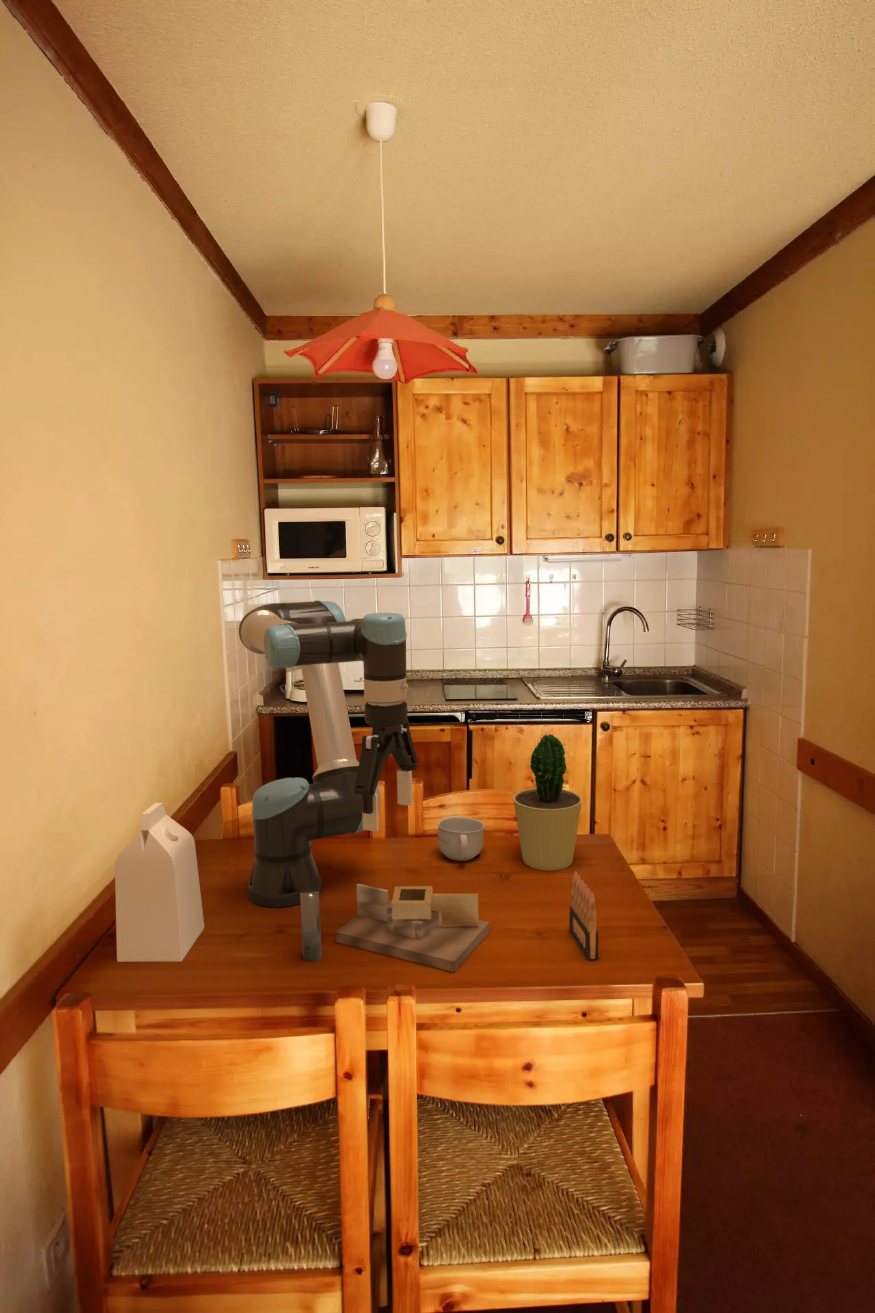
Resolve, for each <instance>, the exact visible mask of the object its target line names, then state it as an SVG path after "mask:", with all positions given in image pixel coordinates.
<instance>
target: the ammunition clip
mask: <svg viewBox="0 0 875 1313" xmlns="http://www.w3.org/2000/svg"><path fill="white" fill-rule="evenodd" d="M570 895H571V896H570V905H569V923H568V924H569V926H568V928H569V930H568V931H569V933H570V934H571V937H573V939H574V940H575V942H576V945H577V946H578V947H579V949H580V950H581V952H582V953H583V955H584V957H585V958H586V960H587V961H594V960H599V931H598V929H597V919H598V918H597V912H596V911H597V910H596V899H595V898H596V897H595V894H594V893H593V892H592V891H591V890H590V887H588V885H587V884H586V883H585V882H584V879H581V876H580V874H578V872H577V871H576V870H575V871H574V873H573V875H572V886H571V893H570Z"/></svg>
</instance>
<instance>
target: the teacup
mask: <svg viewBox="0 0 875 1313" xmlns="http://www.w3.org/2000/svg"><path fill="white" fill-rule="evenodd" d="M437 826H438V827H437V828H438V830H437V831H438V832H437V840H438V842H437V843H438V848H439V850H440V852H441V853H442V854H443V855H444V856H445V857H447V858H448V859H450V860H453V861H458V862H459V861H460V862H463V861H465V862H466V861H470V860H473V859H474V858H476V856H478V855H479V854H480V853H481V851H482V849H483V845H484V835H485V834H484V833H485V823H484V822H483V821H481V820H479V819H476V818H473V817H467V816H466V817H465V816H450V817H446V818H442V819H440V820H439V821H438V822H437Z"/></svg>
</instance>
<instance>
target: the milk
mask: <svg viewBox="0 0 875 1313" xmlns="http://www.w3.org/2000/svg"><path fill="white" fill-rule="evenodd" d="M140 824H141V825H140V831H139V833H138V834H137V835H136V836H134V838H132V840H130V842H129V843H128V844H127V845H126V846H125V847H124V848H123V849H122V850H121V851H120V852H119V854H118V855H117V857H116V858H115V863H114V879H115V880H114V882H115V883H114V885H115V886H114V887H115V890H114V891H115V928H116V931H115V932H116V934H115V935H116V960H117V961H116V962H123V963H124V962H126V963H127V962H182V961H183V959H185V957H186V955H187V954H188V952H189V951H190V949H191V948H192V947H193V945H194V944H195V943H196V941H197V939H198V938H199V937H200V935H201V933H202V932H203V931H204V929H205V922H204V913H203V904H202V895H201V886H200V877H199V868H198V859H197V853H196V852H197V849H196V844H195V843H196V842H195V837H193V835H192V833H190V832H189V830H188V829H186V828H185V827H184V826H182V825H181V824H179V823H178V822H177V821H176V820H174V819H173V818H172V817H170V816H169V815H167V812H166V809H165V807H164V803H163V802H154V803H153V804H152V805H151V806H149V808H147V809H146V810H145V811H143V812H142V813H141V823H140Z"/></svg>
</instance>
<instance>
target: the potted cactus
mask: <svg viewBox="0 0 875 1313" xmlns="http://www.w3.org/2000/svg"><path fill="white" fill-rule="evenodd" d="M541 733H542V732H541ZM541 733H539V735H541V736H539V735H538V736H539V738H538V740H539V741H537V743H534V746H533V747H534V748H533V749H532V748H531V750H532V752H531V754H530V757H529V758H526V760H528V761H527V762H526V763H529V771H530V774H533V777H532V783H533V784H534V785H531V786H534V787H533V788H527V789H524V790H519V791H518V792H516V793H515V794H514V795H513V796H512V799H513V803H514V804H513V806H514V810H515V811H514V812H515V817H516V818H515V819H516V823H517V824H516V825H517V831H518V837H519V842H520V849H521V857H522V860H523V863H524V864H525V865H526V866H528V867H530V868H533V869H536V870H542V871H558V870H559V871H560V870H564V869H567V868H568V867H570V866H571V865H572V864H573V861H574V855H575V854H574V853H575V848H576V840H577V835H578V828H579V821H580V814H581V809H582V801H583V799H582V796H581V795H580V794H578V793H576V792H574V791H571V790H568V789H565V785H564V782H565V778H566V777H568V775H569V769H567V765H569V763H567V758H568V757H567V756H568V755H567V754H569V753H568V752H567V750H565V749H566V748H568V747H565V746H566V745H567V743H565V742H563V743H562V741H561V738H559V737H557V736H555V732H554V733H553V734H551V733H550V734H543V733H542V734H541ZM564 747H565V748H564ZM566 752H567V754H566ZM566 774H568V775H566ZM564 776H565V778H564ZM563 785H564V786H563Z"/></svg>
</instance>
